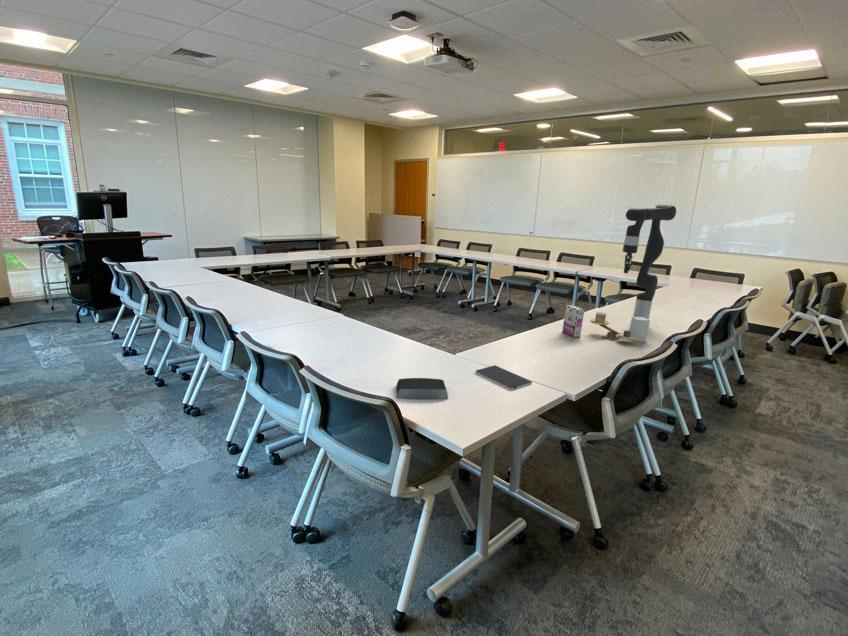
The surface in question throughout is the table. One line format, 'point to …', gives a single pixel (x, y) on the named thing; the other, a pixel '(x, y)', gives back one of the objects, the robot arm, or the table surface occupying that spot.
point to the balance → (615, 332)
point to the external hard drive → (421, 389)
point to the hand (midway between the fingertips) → (626, 272)
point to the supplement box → (639, 328)
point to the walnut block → (600, 317)
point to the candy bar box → (573, 320)
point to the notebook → (503, 377)
